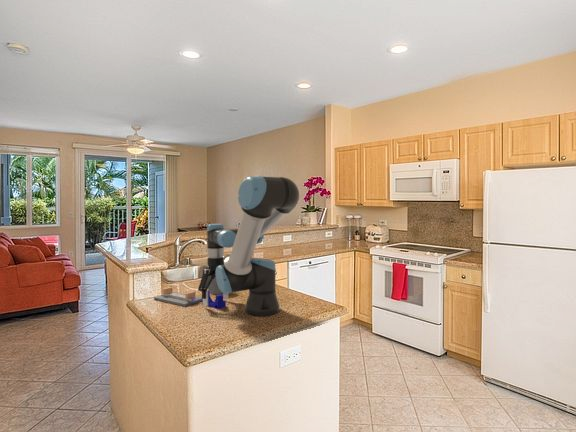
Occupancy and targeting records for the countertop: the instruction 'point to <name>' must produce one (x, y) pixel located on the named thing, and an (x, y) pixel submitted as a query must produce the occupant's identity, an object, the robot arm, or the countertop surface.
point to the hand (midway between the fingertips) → (216, 301)
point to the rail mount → (178, 297)
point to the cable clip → (216, 302)
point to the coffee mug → (214, 287)
